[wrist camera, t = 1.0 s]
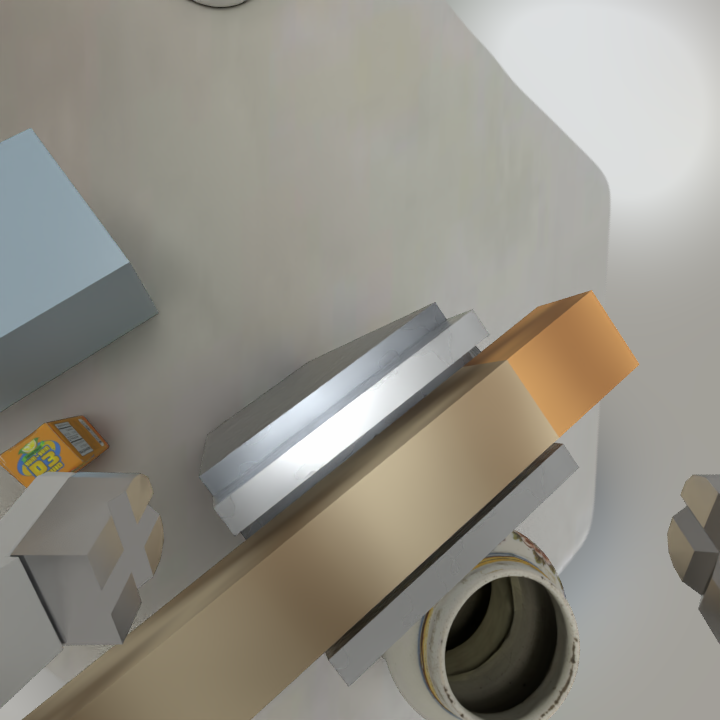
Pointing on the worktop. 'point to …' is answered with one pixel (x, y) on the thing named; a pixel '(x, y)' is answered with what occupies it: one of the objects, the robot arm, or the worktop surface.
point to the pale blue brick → (55, 274)
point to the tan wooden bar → (356, 530)
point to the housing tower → (349, 434)
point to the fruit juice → (220, 2)
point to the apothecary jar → (492, 642)
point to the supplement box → (54, 449)
